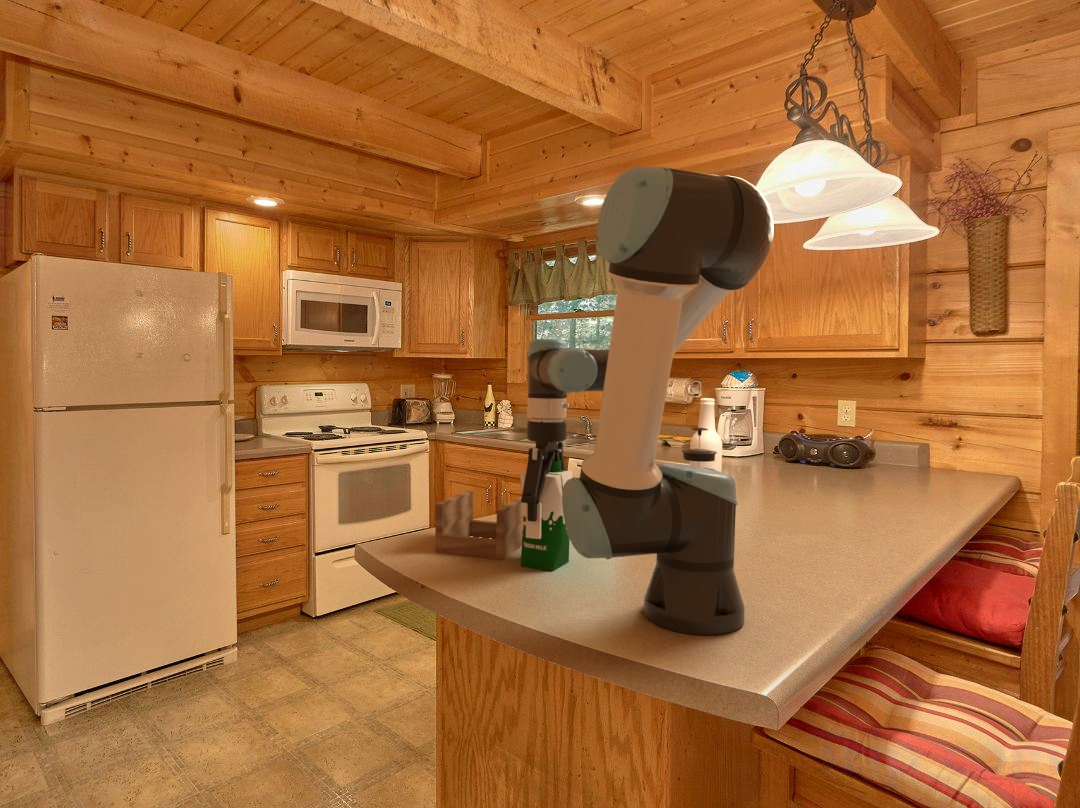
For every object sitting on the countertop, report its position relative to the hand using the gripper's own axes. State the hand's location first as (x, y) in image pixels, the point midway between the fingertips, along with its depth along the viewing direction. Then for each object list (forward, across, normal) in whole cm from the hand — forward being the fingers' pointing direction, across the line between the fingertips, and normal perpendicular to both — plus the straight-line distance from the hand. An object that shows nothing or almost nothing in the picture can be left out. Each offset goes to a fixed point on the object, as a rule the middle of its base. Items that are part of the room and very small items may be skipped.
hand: (545, 529), depth 127 cm
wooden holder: (+7, +7, +16) cm, 19 cm away
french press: (+7, +55, -24) cm, 60 cm away
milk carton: (+7, 0, 0) cm, 7 cm away
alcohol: (+7, +70, -24) cm, 74 cm away
